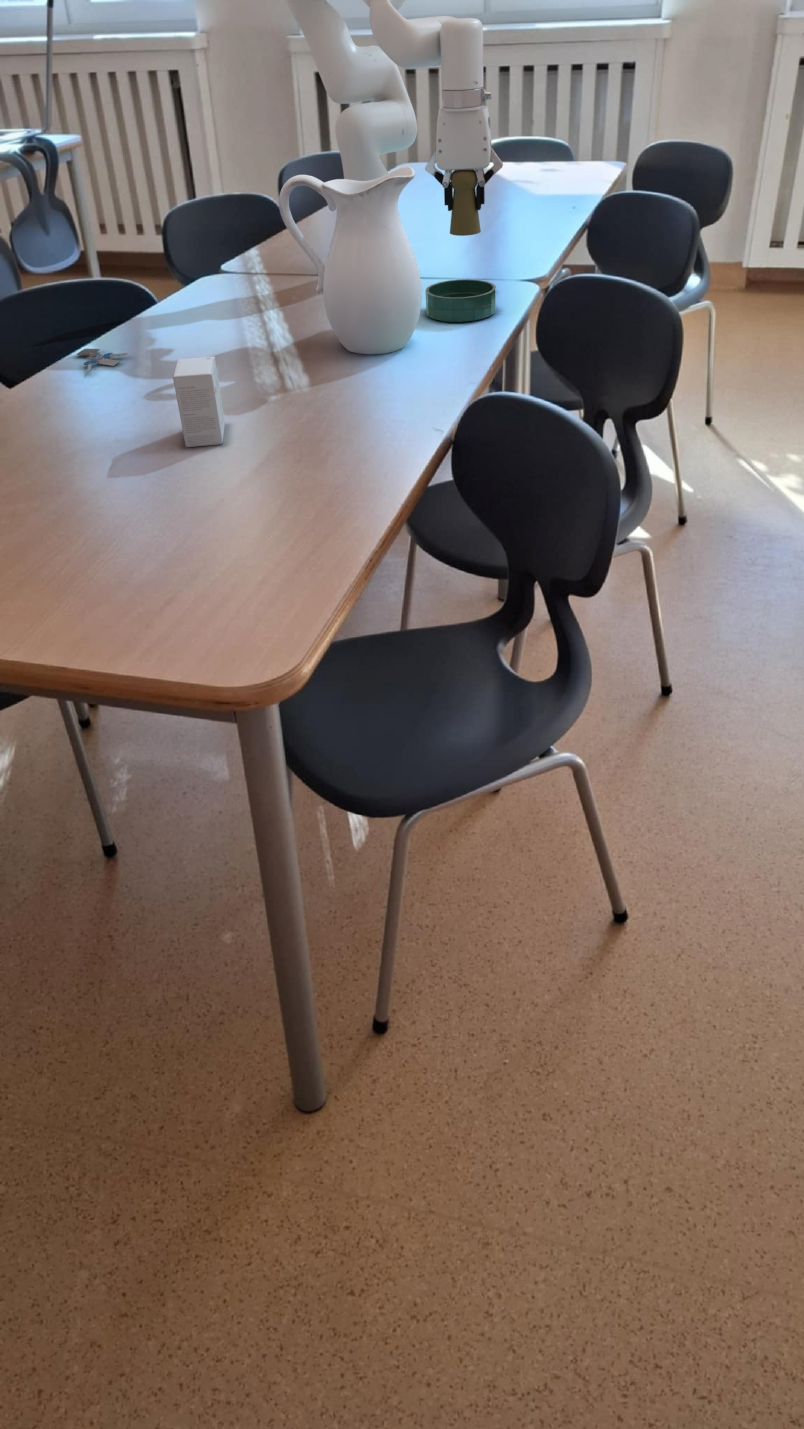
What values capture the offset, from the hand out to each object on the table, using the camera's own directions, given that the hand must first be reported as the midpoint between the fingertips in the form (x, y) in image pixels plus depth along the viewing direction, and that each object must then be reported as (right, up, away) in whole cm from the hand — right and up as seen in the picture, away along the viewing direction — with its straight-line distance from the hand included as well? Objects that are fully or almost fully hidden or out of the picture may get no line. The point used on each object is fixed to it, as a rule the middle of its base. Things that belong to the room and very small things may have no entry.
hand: (464, 208), depth 203 cm
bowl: (-1, -20, -1) cm, 21 cm away
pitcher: (-20, -31, -13) cm, 39 cm away
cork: (0, -4, +3) cm, 4 cm away
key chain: (-65, -33, -13) cm, 74 cm away
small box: (-41, -56, -45) cm, 83 cm away
